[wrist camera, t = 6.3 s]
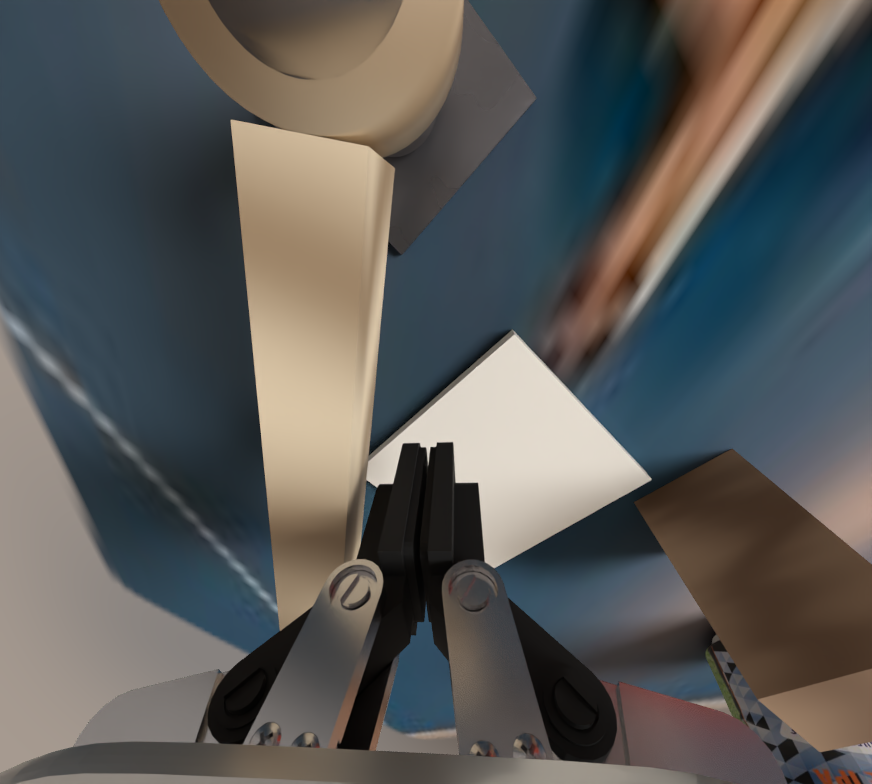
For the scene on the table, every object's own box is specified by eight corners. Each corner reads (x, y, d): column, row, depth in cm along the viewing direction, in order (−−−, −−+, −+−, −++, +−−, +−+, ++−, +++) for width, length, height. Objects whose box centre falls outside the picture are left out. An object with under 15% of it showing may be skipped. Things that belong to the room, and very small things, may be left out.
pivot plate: (382, -114, 8) (380, -124, 8) (534, 101, 10) (536, 97, 10) (260, 110, 10) (255, 106, 10) (402, 254, 12) (401, 254, 12)
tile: (512, 329, 13) (514, 334, 13) (645, 471, 16) (652, 479, 16) (359, 464, 17) (356, 472, 16) (490, 560, 20) (491, 569, 19)
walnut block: (731, 448, 15) (966, 642, 8) (777, 506, 17) (1009, 714, 10) (633, 502, 17) (757, 699, 10) (681, 550, 19) (819, 752, 12)
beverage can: (821, 614, 21) (1210, 1034, 10) (752, 671, 24) (988, 1030, 13) (723, 600, 21) (1011, 1011, 10) (667, 660, 24) (837, 1013, 13)
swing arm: (322, -16, 9) (58, -479, 3) (473, 16, 9) (509, -367, 3) (319, 518, 18) (255, 660, 12) (393, 530, 18) (364, 676, 12)
